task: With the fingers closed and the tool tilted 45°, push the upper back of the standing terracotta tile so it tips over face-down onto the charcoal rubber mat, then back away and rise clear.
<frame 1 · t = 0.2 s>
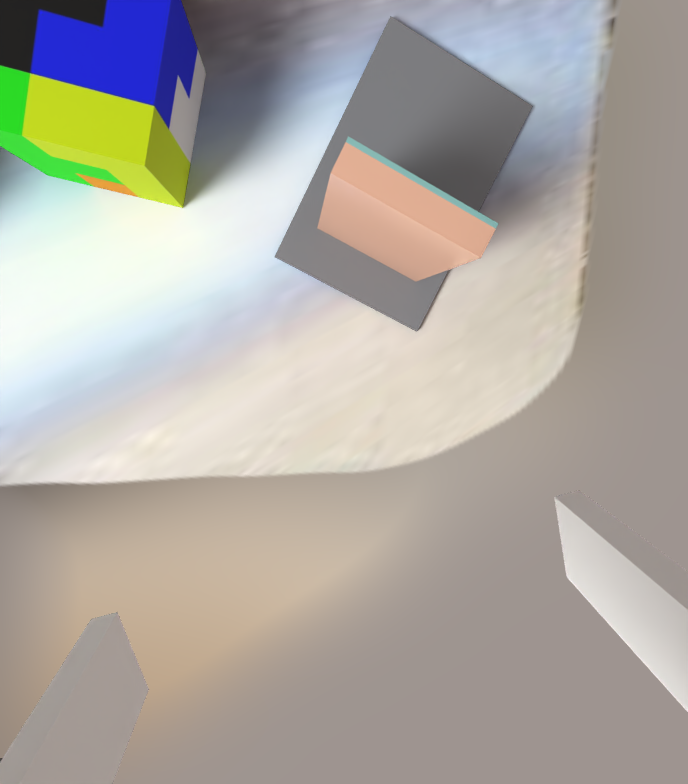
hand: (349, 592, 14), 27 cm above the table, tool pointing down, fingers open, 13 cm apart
mat: (403, 182, 39), on the table
puzzle toy: (128, 125, 37), on the table
tile: (373, 244, 39), resting on mat
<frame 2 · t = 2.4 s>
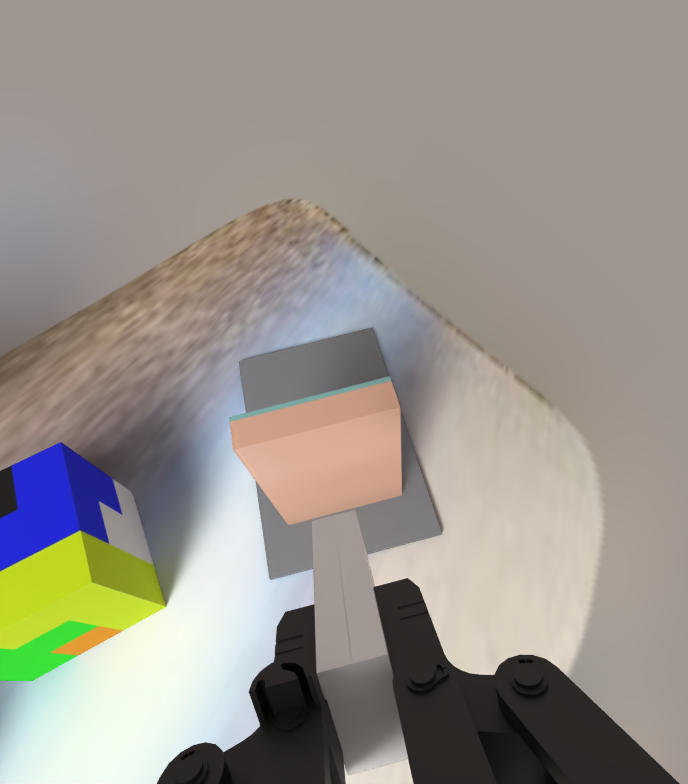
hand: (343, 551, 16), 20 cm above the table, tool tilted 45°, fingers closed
mat: (328, 438, 41), on the table
puzzle toy: (88, 579, 38), on the table
tile: (342, 498, 38), resting on mat
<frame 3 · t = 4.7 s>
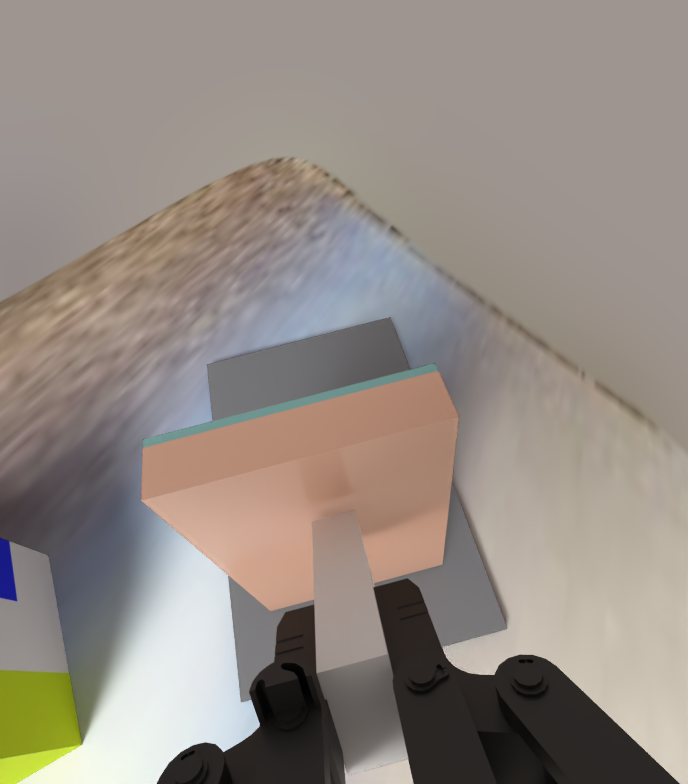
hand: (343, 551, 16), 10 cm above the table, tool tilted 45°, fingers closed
mat: (331, 475, 29), on the table
tile: (352, 568, 25), point 1 cm above the table, touching mat
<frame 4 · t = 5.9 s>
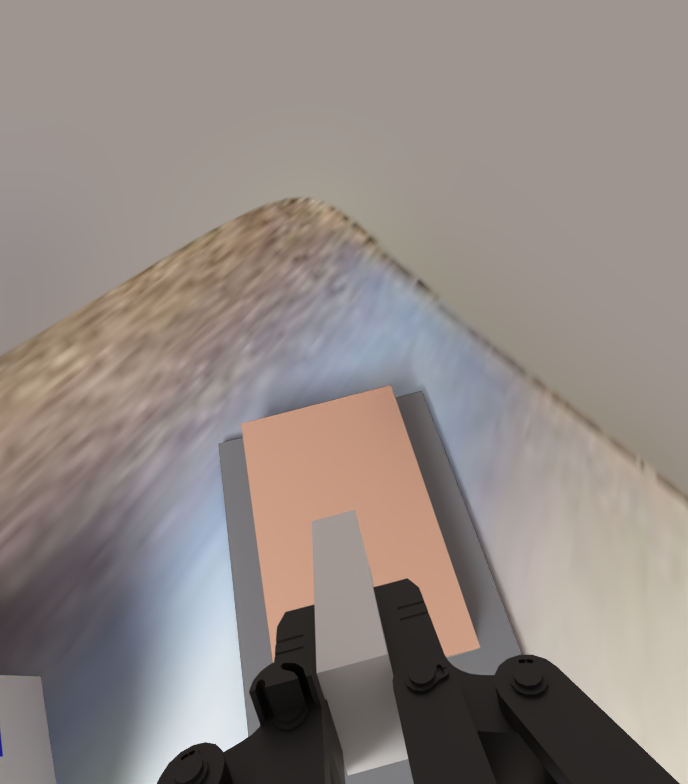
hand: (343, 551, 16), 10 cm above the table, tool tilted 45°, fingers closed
mat: (360, 584, 25), on the table
tile: (380, 675, 22), point 1 cm above the table, tilted 90°, touching mat
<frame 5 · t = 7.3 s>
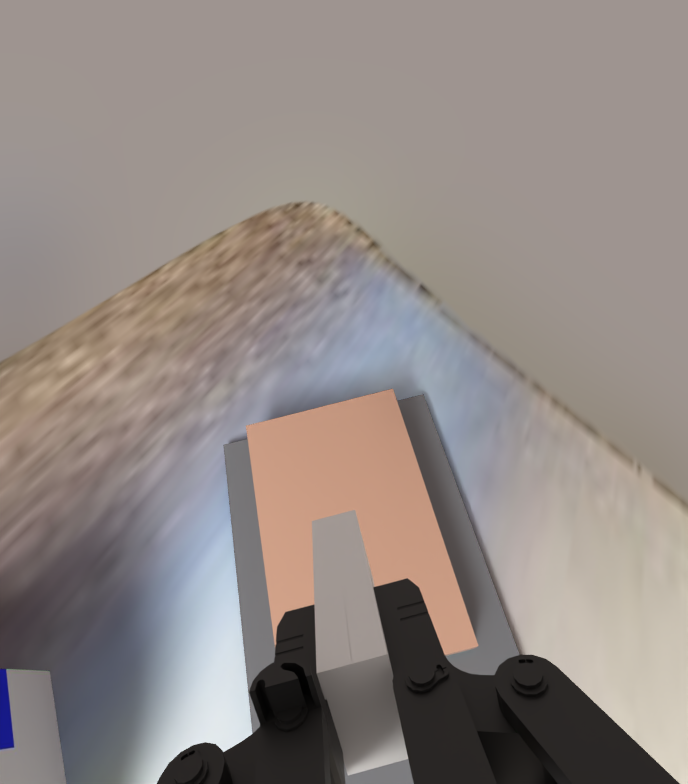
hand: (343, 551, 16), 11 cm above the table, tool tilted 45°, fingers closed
mat: (362, 583, 26), on the table
tile: (381, 672, 22), point 1 cm above the table, tilted 90°, touching mat
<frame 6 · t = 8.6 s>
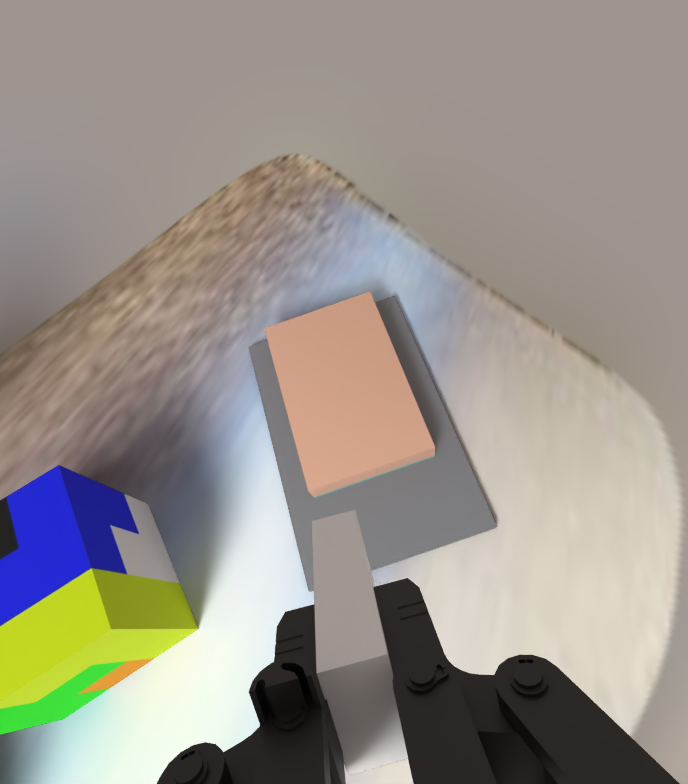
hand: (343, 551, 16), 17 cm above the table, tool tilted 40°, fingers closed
mat: (357, 427, 37), on the table
puzzle toy: (111, 603, 34), on the table
tile: (373, 473, 34), point 1 cm above the table, tilted 90°, touching mat
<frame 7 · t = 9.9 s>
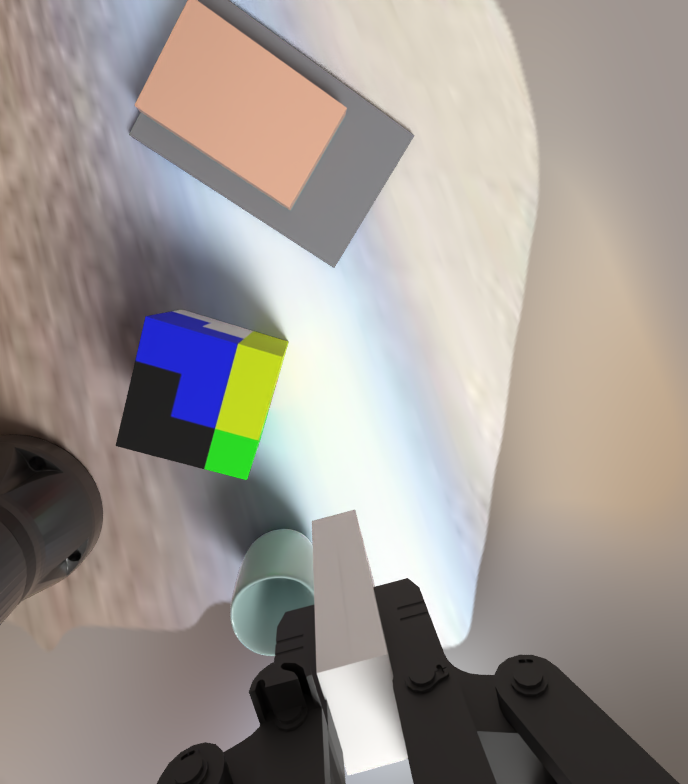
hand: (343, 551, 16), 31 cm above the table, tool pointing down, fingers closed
mat: (274, 136, 41), on the table
cup: (283, 551, 50), on the table
puzzle toy: (222, 376, 46), on the table
tile: (317, 161, 41), point 1 cm above the table, tilted 90°, touching mat
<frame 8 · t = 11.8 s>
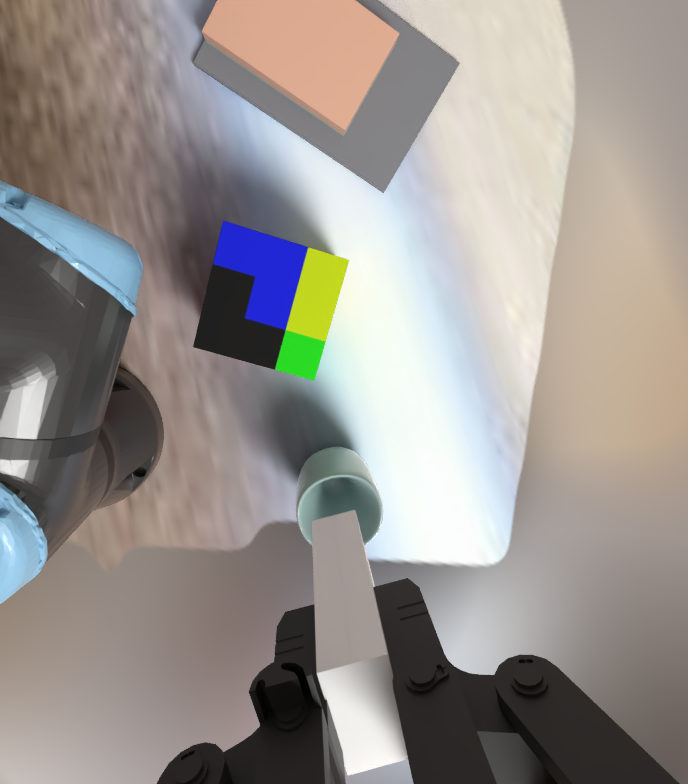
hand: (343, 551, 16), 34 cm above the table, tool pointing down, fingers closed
mat: (328, 65, 44), on the table
cup: (333, 471, 53), on the table
puzzle toy: (277, 299, 48), on the table
tile: (370, 87, 43), point 1 cm above the table, tilted 90°, touching mat
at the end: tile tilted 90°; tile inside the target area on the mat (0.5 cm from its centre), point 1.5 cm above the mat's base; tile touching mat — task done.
